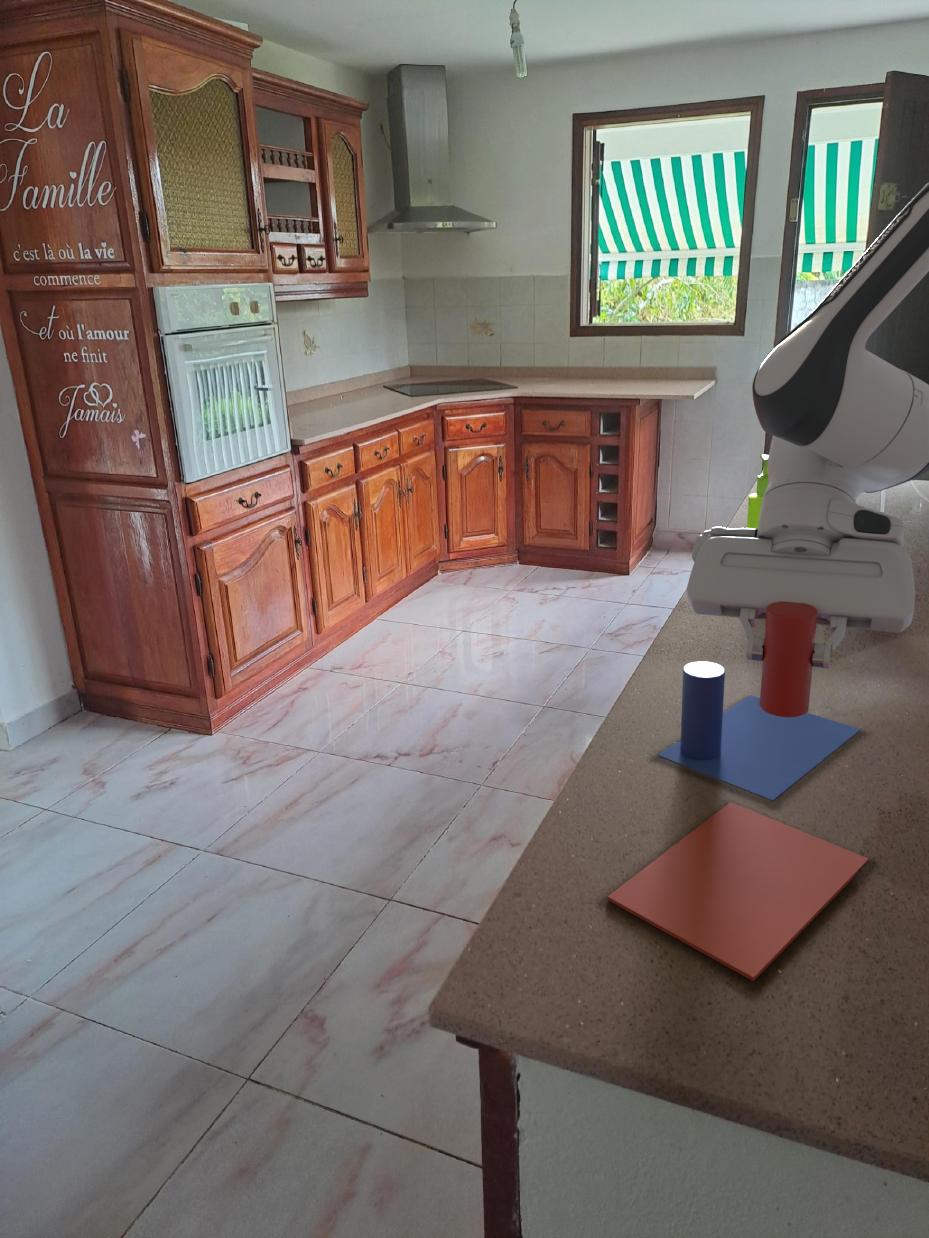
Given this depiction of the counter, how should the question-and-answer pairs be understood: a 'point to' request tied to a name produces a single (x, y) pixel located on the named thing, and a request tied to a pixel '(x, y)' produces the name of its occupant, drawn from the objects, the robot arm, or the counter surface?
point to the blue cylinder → (702, 710)
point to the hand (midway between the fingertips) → (787, 662)
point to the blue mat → (767, 748)
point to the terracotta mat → (739, 887)
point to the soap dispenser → (758, 496)
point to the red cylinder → (788, 658)
